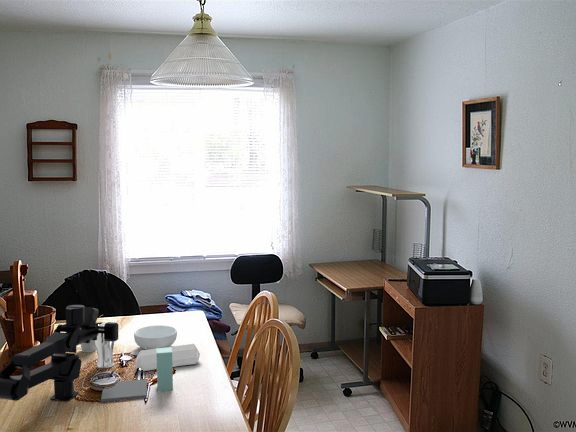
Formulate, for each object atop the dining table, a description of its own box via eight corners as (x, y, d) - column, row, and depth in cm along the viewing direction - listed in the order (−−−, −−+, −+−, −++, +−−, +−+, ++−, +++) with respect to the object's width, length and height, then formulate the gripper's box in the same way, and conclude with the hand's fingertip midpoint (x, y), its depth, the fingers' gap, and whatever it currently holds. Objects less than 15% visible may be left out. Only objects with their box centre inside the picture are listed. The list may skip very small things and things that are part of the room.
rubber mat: (101, 402, 187) (100, 399, 187) (104, 385, 201) (104, 382, 201) (146, 398, 190) (146, 394, 190) (146, 381, 204) (146, 379, 204)
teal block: (157, 391, 196) (156, 353, 194) (157, 385, 200) (156, 348, 199) (172, 390, 197) (172, 352, 195) (172, 384, 202) (171, 347, 200)
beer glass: (109, 369, 216) (108, 329, 214) (92, 368, 217) (90, 328, 216) (118, 363, 222) (117, 324, 221) (101, 361, 224) (100, 323, 222)
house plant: (73, 359, 226) (71, 318, 224) (62, 350, 237) (61, 310, 236) (109, 352, 234) (108, 312, 233) (98, 343, 246) (96, 305, 244)
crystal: (196, 346, 230) (133, 355, 220) (200, 342, 223) (135, 350, 214) (199, 366, 227) (135, 375, 217) (203, 362, 221) (137, 371, 211)
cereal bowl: (126, 353, 234) (126, 335, 233) (146, 340, 250) (145, 324, 249) (166, 356, 230) (165, 338, 229) (183, 343, 246) (183, 326, 245)
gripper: (105, 313, 196) (129, 304, 211) (56, 309, 201) (83, 301, 216) (105, 346, 197) (129, 335, 212) (56, 341, 201) (83, 331, 216)
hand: (106, 325), depth 214 cm, fingers open, 9 cm apart
